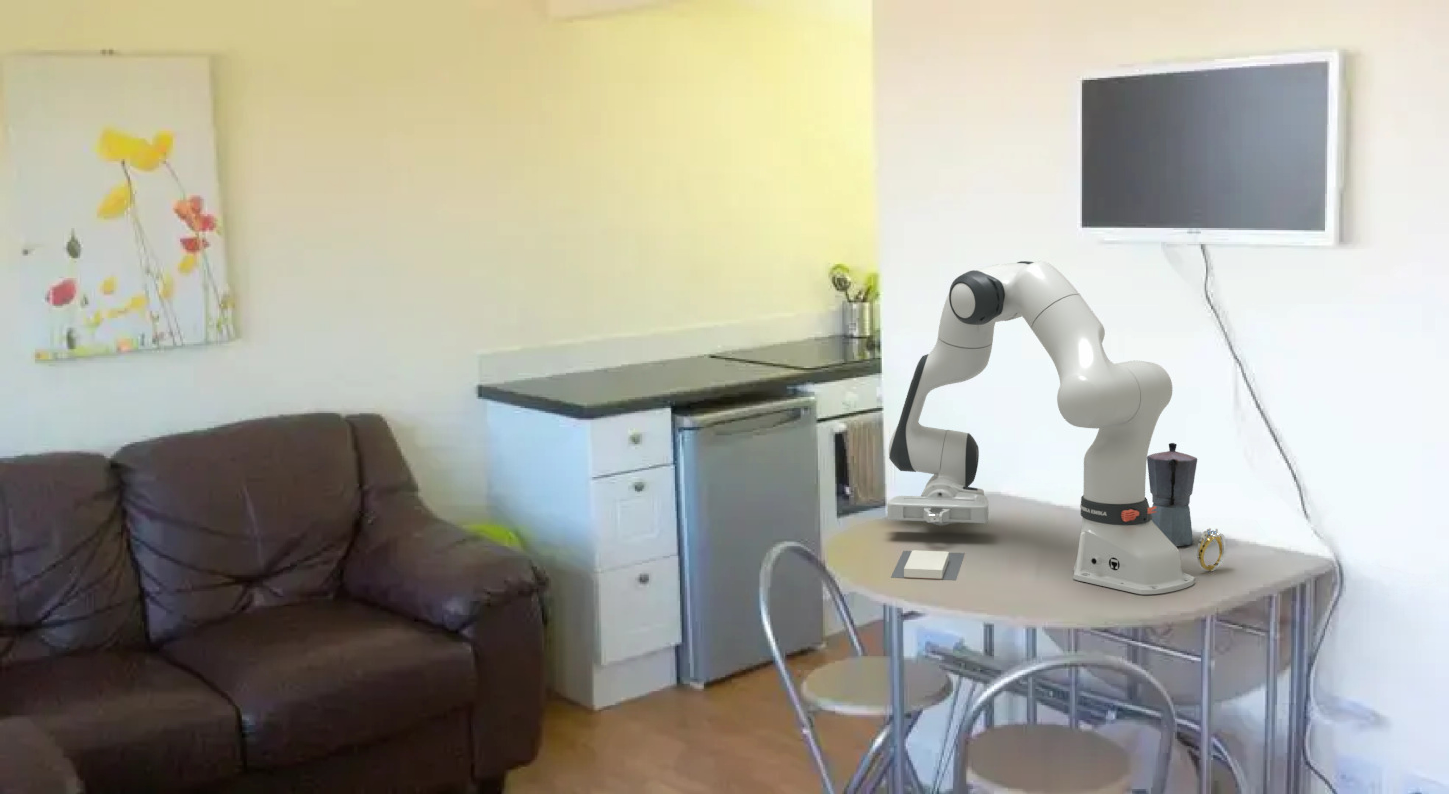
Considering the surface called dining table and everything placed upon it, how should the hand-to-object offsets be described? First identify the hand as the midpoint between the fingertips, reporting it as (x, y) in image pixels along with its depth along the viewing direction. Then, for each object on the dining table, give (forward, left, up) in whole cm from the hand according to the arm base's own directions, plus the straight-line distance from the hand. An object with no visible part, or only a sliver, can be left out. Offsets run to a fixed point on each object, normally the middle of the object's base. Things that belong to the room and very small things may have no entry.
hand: (934, 519), depth 301 cm
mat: (-8, +8, -7) cm, 13 cm away
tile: (-6, +6, -5) cm, 10 cm away
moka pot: (-23, -41, -7) cm, 48 cm away
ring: (-41, -32, -7) cm, 53 cm away
